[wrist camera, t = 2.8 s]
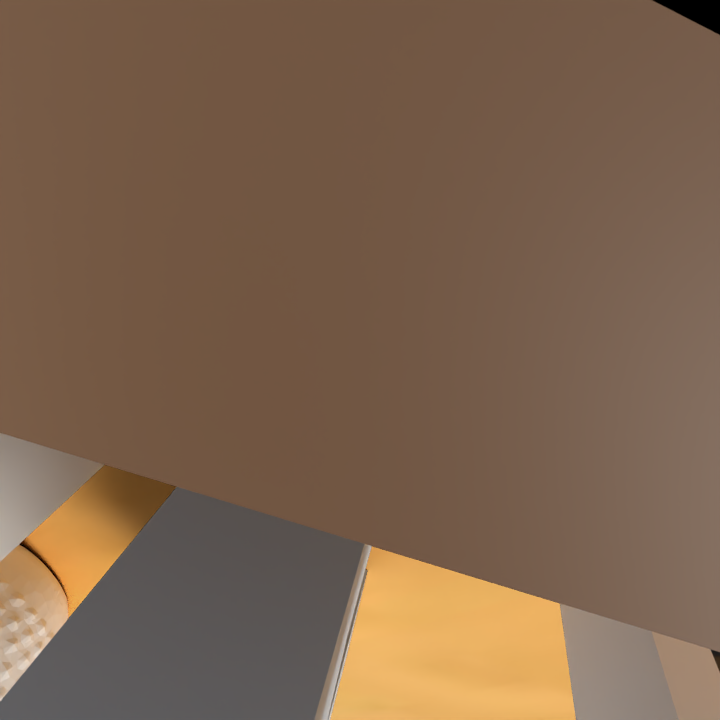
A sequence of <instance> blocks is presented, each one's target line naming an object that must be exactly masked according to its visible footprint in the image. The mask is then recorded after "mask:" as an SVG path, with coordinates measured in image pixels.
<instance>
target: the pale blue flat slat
mask: <svg viewBox="0 0 720 720" xmlns="http://www.w3.org/2000/svg"><path fill="white" fill-rule="evenodd" d="M370 550H371V546H370V545H367V544H363V543H360V542H357V541H353V540H350V539H347V538H344V537H340V536H337V535H334V534H330V533H327V532H324V531H321V530H317V529H314V528H311V527H307V526H304V525H301V524H298V523H294V522H291V521H288V520H284V519H281V518H278V517H275V516H271V515H268V514H265V513H262V512H258V511H255V510H252V509H248V508H245V507H242V506H239V505H235V504H232V503H229V502H225V501H222V500H219V499H216V498H212V497H209V496H206V495H202V494H199V493H196V492H193V491H189V490H186V489H183V488H179V487H176V488H175V490H174V491H173V492H172V493H171V495H170V496H169V497H168V498H167V499H166V501H165V502H164V503H163V504H162V505H161V507H160V508H159V509H158V510H157V512H156V513H155V514H154V515H153V516H152V518H151V519H150V520H149V521H148V522H147V524H146V525H145V526H144V527H143V529H142V530H141V531H140V532H139V533H138V535H137V536H136V537H135V538H134V539H133V541H132V542H131V543H130V544H129V546H128V547H127V548H126V549H125V550H124V552H123V553H122V554H121V555H120V557H119V558H118V559H117V560H116V561H115V563H114V564H113V565H112V566H111V567H110V569H109V570H108V571H107V572H106V574H105V575H104V576H103V577H102V578H101V580H100V581H99V582H98V583H97V584H96V586H95V587H94V588H93V589H92V591H91V592H90V593H89V594H88V595H87V597H86V598H85V599H84V600H83V601H82V603H81V604H80V605H79V606H78V608H77V609H76V610H75V611H74V612H73V614H72V615H71V616H70V617H69V618H68V620H67V621H66V622H65V623H64V625H63V626H62V627H61V628H60V629H59V631H58V632H57V633H56V634H55V635H54V637H53V638H52V639H51V640H50V642H49V643H48V644H47V645H46V646H45V648H44V649H43V650H42V651H41V653H40V654H39V655H38V656H37V657H36V659H35V660H34V661H33V662H32V663H31V665H30V666H29V667H28V668H27V670H26V671H25V672H24V673H23V674H22V676H21V677H20V678H19V679H18V680H17V682H16V683H15V684H14V685H13V687H12V688H11V689H10V690H9V691H8V693H7V694H6V695H5V696H4V697H3V699H2V700H1V701H0V720H330V718H331V714H332V710H333V706H334V702H335V699H336V695H337V691H338V687H339V683H340V679H341V676H342V672H343V668H344V664H345V660H346V656H347V653H348V648H349V644H350V640H351V636H352V632H353V628H354V624H355V620H356V616H357V612H358V607H359V603H360V599H361V595H362V591H363V587H364V583H365V579H366V575H367V571H368V570H365V569H366V565H367V561H368V558H369V554H370Z"/></svg>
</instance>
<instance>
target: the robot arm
mask: <svg viewBox="0 0 720 720" xmlns="http://www.w3.org/2000/svg"><path fill="white" fill-rule="evenodd" d="M103 466H104V464H101V463H97V462H94V461H91V460H88V459H84V458H81V457H78V456H74V455H71V454H68V453H65V452H61V451H58V450H55V449H51V448H48V447H45V446H42V445H38V444H35V443H32V442H29V441H25V440H22V439H19V438H15V437H12V436H9V435H6V434H2V433H0V561H2V560H3V559H4V558H5V557H6V556H7V555H8V554H9V553H10V552H11V551H12V550H13V549H14V548H16V547H17V546H18V545H19V544H20V543H21V542H22V541H23V540H24V539H25V538H26V537H27V536H28V535H30V534H31V533H32V532H33V531H34V530H35V529H36V528H37V527H38V526H39V525H40V524H41V523H42V522H44V521H45V520H46V519H47V518H48V517H49V516H50V515H51V514H52V513H53V512H54V511H55V510H56V509H58V508H59V507H60V506H61V505H62V504H63V503H64V502H65V501H66V500H67V499H68V498H69V497H70V496H72V495H73V494H74V493H75V492H76V491H77V490H78V489H79V488H80V487H81V486H82V485H83V484H84V483H86V482H87V481H88V480H89V479H90V478H91V477H92V476H93V475H94V474H95V473H96V472H97V471H99V470H100V469H101V468H102V467H103ZM560 608H561V616H562V623H563V630H564V637H565V644H566V651H567V658H568V666H569V673H570V680H571V687H572V694H573V701H574V708H575V716H576V720H720V652H718V651H714V650H711V649H708V648H705V647H701V646H698V645H695V644H691V643H688V642H685V641H682V640H678V639H675V638H672V637H668V636H665V635H662V634H659V633H655V632H652V631H649V630H645V629H642V628H639V627H636V626H632V625H629V624H626V623H622V622H619V621H616V620H613V619H609V618H606V617H603V616H600V615H596V614H593V613H590V612H586V611H583V610H580V609H577V608H573V607H570V606H567V605H563V604H560Z"/></svg>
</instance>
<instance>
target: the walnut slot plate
mask: <svg viewBox="0 0 720 720" xmlns="http://www.w3.org/2000/svg"><path fill="white" fill-rule="evenodd" d="M0 433H2V434H6V435H9V436H12V437H15V438H19V439H22V440H25V441H29V442H32V443H35V444H38V445H42V446H45V447H48V448H51V449H55V450H58V451H61V452H65V453H68V454H71V455H74V456H78V457H81V458H84V459H88V460H91V461H94V462H97V463H101V464H104V465H107V466H111V467H114V468H117V469H120V470H124V471H127V472H130V473H134V474H137V475H140V476H143V477H147V478H150V479H153V480H156V481H160V482H163V483H166V484H170V485H173V486H176V487H179V488H183V489H186V490H189V491H193V492H196V493H199V494H202V495H206V496H209V497H212V498H216V499H219V500H222V501H225V502H229V503H232V504H235V505H239V506H242V507H245V508H248V509H252V510H255V511H258V512H262V513H265V514H268V515H271V516H275V517H278V518H281V519H284V520H288V521H291V522H294V523H298V524H301V525H304V526H307V527H311V528H314V529H317V530H321V531H324V532H327V533H330V534H334V535H337V536H340V537H344V538H347V539H350V540H353V541H357V542H360V543H363V544H367V545H370V546H373V547H376V548H380V549H383V550H386V551H389V552H393V553H396V554H399V555H403V556H406V557H409V558H412V559H416V560H419V561H422V562H426V563H429V564H432V565H435V566H439V567H442V568H445V569H449V570H452V571H455V572H458V573H462V574H465V575H468V576H472V577H475V578H478V579H481V580H485V581H488V582H491V583H495V584H498V585H501V586H504V587H508V588H511V589H514V590H517V591H521V592H524V593H527V594H531V595H534V596H537V597H540V598H544V599H547V600H550V601H554V602H557V603H560V604H563V605H567V606H570V607H573V608H577V609H580V610H583V611H586V612H590V613H593V614H596V615H600V616H603V617H606V618H609V619H613V620H616V621H619V622H622V623H626V624H629V625H632V626H636V627H639V628H642V629H645V630H649V631H652V632H655V633H659V634H662V635H665V636H668V637H672V638H675V639H678V640H682V641H685V642H688V643H691V644H695V645H698V646H701V647H705V648H708V649H711V650H714V651H718V652H720V0H0Z"/></svg>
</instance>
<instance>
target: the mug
mask: <svg viewBox="0 0 720 720" xmlns="http://www.w3.org/2000/svg"><path fill="white" fill-rule="evenodd" d="M67 620H68V602H67V598H66V595H65V593H64V591H63V589H62V587H61V585H60V584H59V582H58V581H57V579H56V578H55V577H54V575H53V574H52V573H51V572H50V570H49V569H48V568H47V567H46V566H45V565H44V564H43V563H42V562H41V561H40V560H39V559H38V558H37V557H36V556H35V555H34V554H32V553H31V552H30V551H28V550H27V549H26V548H24V547H23V546H21V545H18V546H17V547H16V548H14V549H13V550H12V551H11V552H10V553H9V554H8V555H7V556H6V557H5V558H4V559H3V560H2V561H0V701H1V700H2V699H3V697H4V696H5V695H6V694H7V693H8V691H9V690H10V689H11V688H12V687H13V685H14V684H15V683H16V682H17V680H18V679H19V678H20V677H21V676H22V674H23V673H24V672H25V671H26V670H27V668H28V667H29V666H30V665H31V663H32V662H33V661H34V660H35V659H36V657H37V656H38V655H39V654H40V653H41V651H42V650H43V649H44V648H45V646H46V645H47V644H48V643H49V642H50V640H51V639H52V638H53V637H54V635H55V634H56V633H57V632H58V631H59V629H60V628H61V627H62V626H63V625H64V623H65V622H66V621H67Z"/></svg>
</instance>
